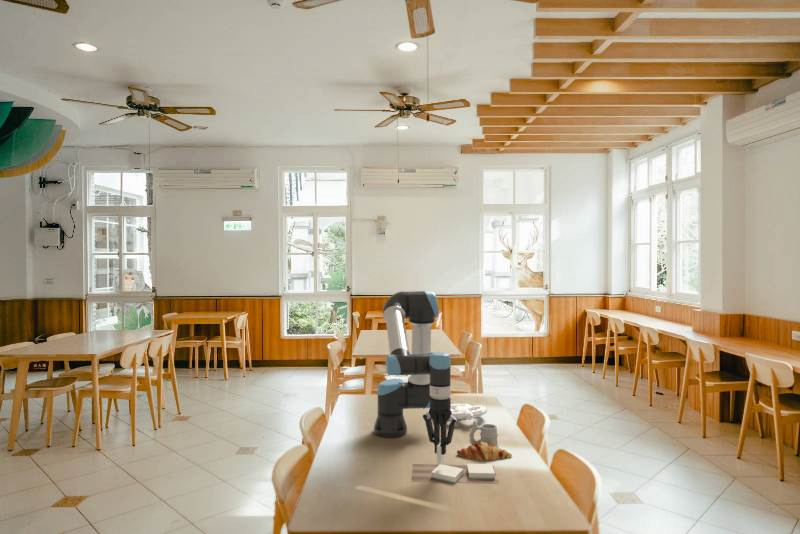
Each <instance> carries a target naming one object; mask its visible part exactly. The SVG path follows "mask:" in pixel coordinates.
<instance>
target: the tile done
mask: <svg viewBox="0 0 800 534" xmlns="http://www.w3.org/2000/svg"><path fill="white" fill-rule="evenodd" d="M466 465H467V471H468V476H469V479H495V472H496V471H495V472H494V469H495V468H494V469H493V466H494V465H493V464H492V463H467V464H466Z"/></svg>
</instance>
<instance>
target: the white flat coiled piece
mask: <svg viewBox="0 0 800 534" xmlns="http://www.w3.org/2000/svg"><path fill="white" fill-rule="evenodd" d="M450 410H451V413H452V416H454V417H455V418H458V421H459V420H469V421H470V420H472V419H474V418H475V419H476V418H478V417H482V416H484V415H485V414H487V412H488V410H487V407H486V406H484V405H482V404H477V405H471V404H469V403H463V402H462V403H459V402H457V403H452V404H451V409H450ZM428 412H429V409H427V411H425V414H426V413H428ZM449 420H450V418H449Z"/></svg>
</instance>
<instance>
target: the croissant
mask: <svg viewBox="0 0 800 534" xmlns="http://www.w3.org/2000/svg"><path fill="white" fill-rule="evenodd" d="M456 455H458V456H459V457H462V458H465V459H470V460H474V461H483V462H489V461H490V462H492V461H496V460H503V459H510V458H512V457H513V456H512V453H510V452H508V451H507V450H506V449H502V448H500V447H499V448H498V447H497V446H496V445H495V446H494V445H493V446H491V445H490V446H489V445H488V444H487V443H485V442H476V443H474V445H472V444H470V445H469V446H468V447H467V448H466V447H465V448H464V447H463V448H461V449H460V450H457V451H456Z"/></svg>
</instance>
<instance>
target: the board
mask: <svg viewBox="0 0 800 534" xmlns="http://www.w3.org/2000/svg"><path fill="white" fill-rule="evenodd" d="M439 465H440V464H428V463H427V464H425V463H423V464H421V463H418V464H415V463H414V464H412V471H411V472H412V473H411V482H412V483H441V484H442V483H446V484H447V483H448V484H449V483H452V482H448V481H443V480H439V479H434V478H431V472H432V471H433V470H434V469H435V468H437V467H438V466H439ZM446 465H447V466H452V467H457V468H462V469H464V474H463V476H462V477H461V478H460V479H459V480H458V481H457V482H456V483H455V484H494V485H499V484H500V482H499V479H498V475H497V473H496V469H495V465H492V466H493V469H494V472H495V479H469V476H468V471H467V464H446ZM452 484H453V483H452Z"/></svg>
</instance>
